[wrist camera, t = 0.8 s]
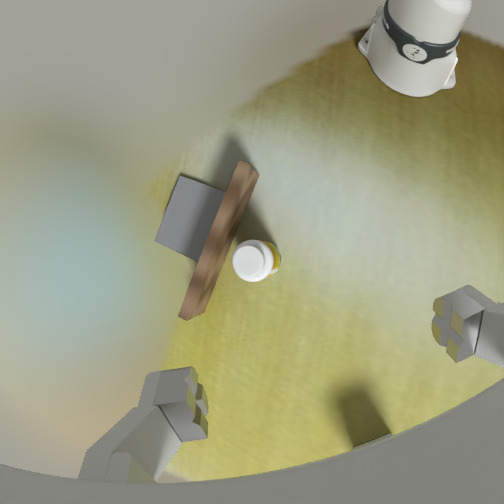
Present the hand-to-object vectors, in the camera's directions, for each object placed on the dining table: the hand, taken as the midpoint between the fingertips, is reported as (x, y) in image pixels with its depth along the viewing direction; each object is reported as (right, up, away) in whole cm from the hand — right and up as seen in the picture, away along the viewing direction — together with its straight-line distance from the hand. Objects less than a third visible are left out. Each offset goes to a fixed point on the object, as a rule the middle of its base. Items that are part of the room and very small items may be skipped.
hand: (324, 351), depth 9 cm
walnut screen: (-6, +5, +41) cm, 42 cm away
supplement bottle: (0, +2, +40) cm, 40 cm away
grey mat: (-12, +9, +43) cm, 45 cm away
